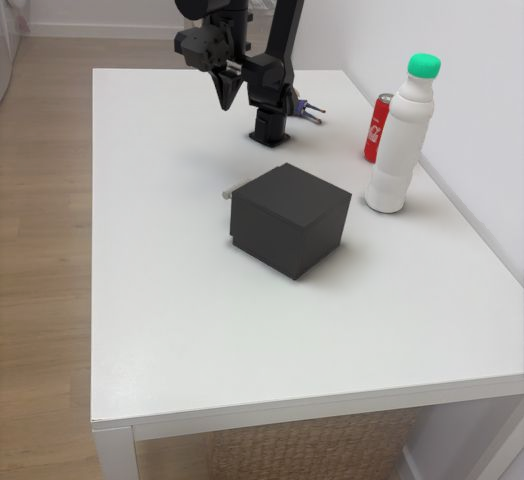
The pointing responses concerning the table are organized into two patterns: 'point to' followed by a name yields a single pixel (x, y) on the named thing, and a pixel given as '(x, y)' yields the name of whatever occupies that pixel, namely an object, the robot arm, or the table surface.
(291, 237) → the cabinet
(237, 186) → the drawer
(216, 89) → the robot arm
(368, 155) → the beverage can
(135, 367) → the table surface
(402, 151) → the water bottle
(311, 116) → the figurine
